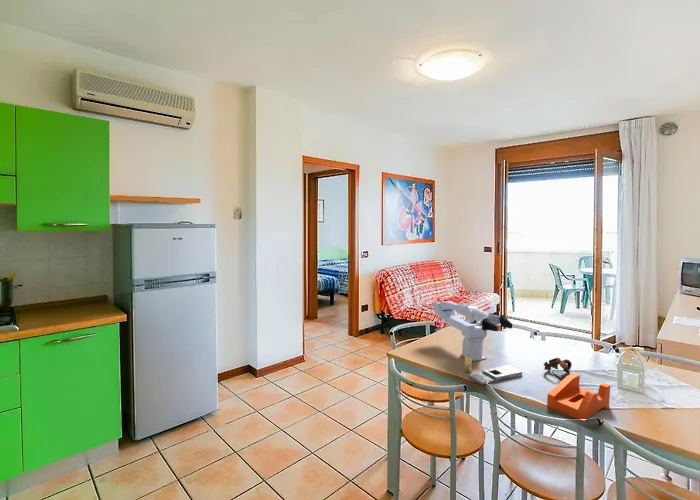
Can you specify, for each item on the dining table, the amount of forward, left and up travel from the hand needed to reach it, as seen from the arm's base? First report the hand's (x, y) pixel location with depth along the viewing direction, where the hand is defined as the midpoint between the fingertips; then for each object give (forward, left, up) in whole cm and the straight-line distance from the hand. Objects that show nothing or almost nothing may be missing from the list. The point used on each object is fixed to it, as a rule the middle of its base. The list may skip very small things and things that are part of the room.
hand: (504, 327), depth 162 cm
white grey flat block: (+1, -6, -21) cm, 21 cm away
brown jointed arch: (+11, +21, -21) cm, 32 cm away
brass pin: (-8, -13, -21) cm, 25 cm away
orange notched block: (+32, +3, -21) cm, 39 cm away
